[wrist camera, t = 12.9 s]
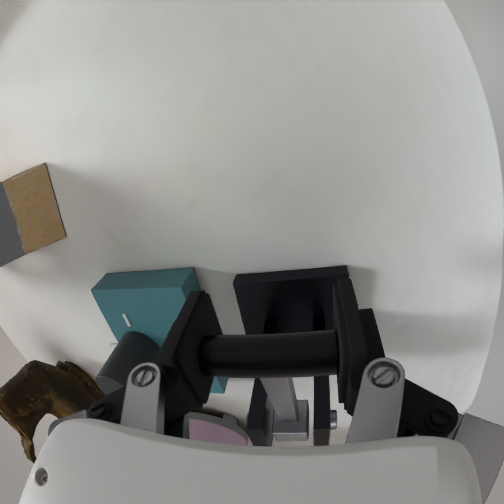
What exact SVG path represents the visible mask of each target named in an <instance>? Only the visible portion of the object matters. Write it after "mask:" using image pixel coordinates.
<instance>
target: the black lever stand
mask: <svg viewBox="0 0 504 504" xmlns="http://www.w3.org/2000/svg"><path fill="white" fill-rule="evenodd" d="M341 279H349V273H348V269H347V266H335V267H324V268H313V269H301V270H289V271H277V272H265V273H251V274H238V275H236V276H235V279H234V282H233V286H234V290H235V293H236V297H237V301H238V305H239V309H240V313H241V317H242V321H243V325H244V328H245V332H246V335H251V334H278V333H297V332H312V331H325V330H333V284H337V280H341ZM273 411H274V407H273V405H272V403H271V401H270V399H269V397H268V395H267V393H266V390H265V388H264V386H263V384H262V382H261V380H260V378H255V381H254V387H253V392H252V398H251V403H250V408H249V412H248V414H247V417H246V431H247V434H248V436H249V438H250V440H251V442H252V444H253V446H264V447H272V442H273V434H272V424H273ZM336 428H337V411H336V410H330V387H329V375H326V376H314V446H326V445H329V440H330V431H331V429H336Z"/></svg>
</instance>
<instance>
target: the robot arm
mask: <svg viewBox="0 0 504 504" xmlns="http://www.w3.org/2000/svg"><path fill="white" fill-rule="evenodd" d="M333 330H336V331H337V334H338V342H339V372H338V374H337V383H338V398H339V403H344V410H347V413H348V414H350V415H351V416H352V417H353V418H352V421H351V425H350V428H349V432H348V435H347V438H346V442H345V444H339V445H326V446H307V447H264V446H244V445H231V444H221V443H212V442H204V441H197V440H190V436H189V412H191V410H192V409H196V410H202V406H203V404H206V403H207V401H208V397H209V394H210V390H211V387H212V383H213V380H214V377H208V376H205V375H204V374H203V373H202V371H201V369H200V365H199V347H200V343H201V340H202V338H203V337H204V336H206V335H223V334H222V331H221V328H220V325H219V322H218V319H217V316H216V313H215V310H214V307H213V304H212V301H211V298H210V296H209V294H208V293H205V291H204V290H197V291H190V293H189V295H188V297H187V299H186V301H185V303H184V305H183V307H182V309H181V311H180V313H179V315H178V317H177V319H176V320H175V321H174V323H173V324H172V326H171V328H170V330H169V332H168V334H167V336H166V338H165V340H164V342H163V345H162V347H161V349H160V351H159V353H158V355H157V357H156V359H155V361H154V363H142V364H140V365H138V366H136V367H135V368H134V369H132V371H131V372H130V373H129V376H128V380H127V385H125V386H123V387H122V388H120V389H118V390H116V391H114V392H112V393H110V394H108V395H106V396H104V397H102V398H100V399H98V400H96V401H95V402H93V403H92V404H91V405H90V407H89V409H88V411H86V410H82V411H79V412H77V413H74V414H71V415H69V416H66V417H63V418H60V419H58V420H55V421H54V422H53V423H52V424H51V425H50V427H49V430H48V438H47V440H46V442H45V443H44V445H43V447H42V449H41V451H40V453H39V455H38V457H37V459H36V461H35V463H34V466H33V468H32V470H31V473H30V475H29V477H28V480H27V482H26V485H25V487H24V490H23V493H22V496H21V499H20V502H19V504H484V503H485V501H486V499H487V497H488V495H489V493H490V491H491V489H492V487H493V485H494V483H495V480H496V478H497V476H498V473H499V471H500V468H501V466H502V463H503V460H504V427H503V426H500V425H498V424H495V423H492V422H489V421H486V420H483V419H481V418H478V417H475V416H472V415H470V414H467V413H465V414H464V415H462V414H460V413H458V412H457V409H456V408H455V406H454V405H453V404H452V403H450V402H449V401H447V400H445V399H443V398H441V397H439V396H437V395H435V394H433V393H431V392H430V391H428V390H426V389H424V388H422V387H420V386H418V385H416V384H415V383H413V382H411V381H409V380H407V379H405V371H404V369H403V367H402V365H401V364H400V363H399V362H398V361H396V360H394V359H391V358H385V354H384V350H383V346H382V342H381V338H380V335H379V331H378V327H377V324H376V320H375V317H374V313H373V310H372V309H371V308H369V309H360V310H359V309H358V304H357V300H356V296H355V293H354V289H353V285H352V281H351V279H341V280H337V284H333Z"/></svg>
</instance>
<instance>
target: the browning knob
mask: <svg viewBox="0 0 504 504" xmlns="http://www.w3.org/2000/svg"><path fill="white" fill-rule="evenodd" d="M159 351H160V348H159V347H158V345H157V344H156V343H155V342H154V341H153V340H152V339H150V338H149V337H147V336H146V335H144V334H141V333H138V332H134V331H130V332H127V333H125V334H124V335H123V337H122V338H121V340H120V341H119V343H118V344H117V346H116V347H115V349H114V350H113V352H112V353H111V355H110V357H109V358H108V360H107V361H106V363H105V364H104V366H103V368H102V369H101V371H100V372H99V374H98V376H97V377H96V384H97V386H98V387H99V388H100V390H101V391H102V392H103V393H104V394H106V395H108V394H110V393H112V392H114V391H116V390H118V389H120V388H122V387H123V386H125V385H127V380H128V376H129V373H130V372H131V371H132V369H134V368H135V367H136V366H138V365H140V364H142V363H154V361H155V359H156V357H157V355H158V353H159Z"/></svg>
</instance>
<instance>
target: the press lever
mask: <svg viewBox="0 0 504 504" xmlns="http://www.w3.org/2000/svg"><path fill="white" fill-rule="evenodd" d="M199 365H200V369H201V371H202V373H203V374H204V375H205V376H208V377H229V378H260V380H261V382H262V384H263V386H264V388H265V390H266V393H267V395H268V397H269V399H270V401H271V403H272V405H273V407H274V411H273V424H272V434H273V436H274V437H275V438H276V440H277V441H307V440H308V435H309V406H308V400H297V399H296V394H295V390H294V385H293V381H292V377H311V376H326V375H336V374H338V372H339V342H338V334H337V331H336V330H325V331H312V332H297V333H278V334H251V335H206V336H204V337H203V338H202V340H201V343H200V347H199Z"/></svg>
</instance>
